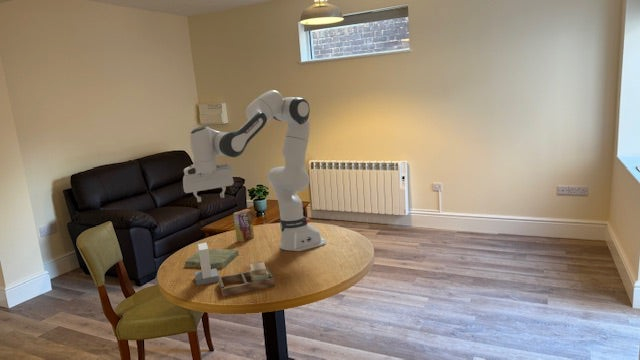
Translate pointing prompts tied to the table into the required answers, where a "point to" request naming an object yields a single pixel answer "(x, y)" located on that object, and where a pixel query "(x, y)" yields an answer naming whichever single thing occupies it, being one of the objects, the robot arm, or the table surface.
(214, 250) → the decorative tile
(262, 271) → the offcut top
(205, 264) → the tall white box
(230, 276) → the walnut rack
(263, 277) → the block
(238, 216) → the candy box
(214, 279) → the slate plinth
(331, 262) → the table surface
